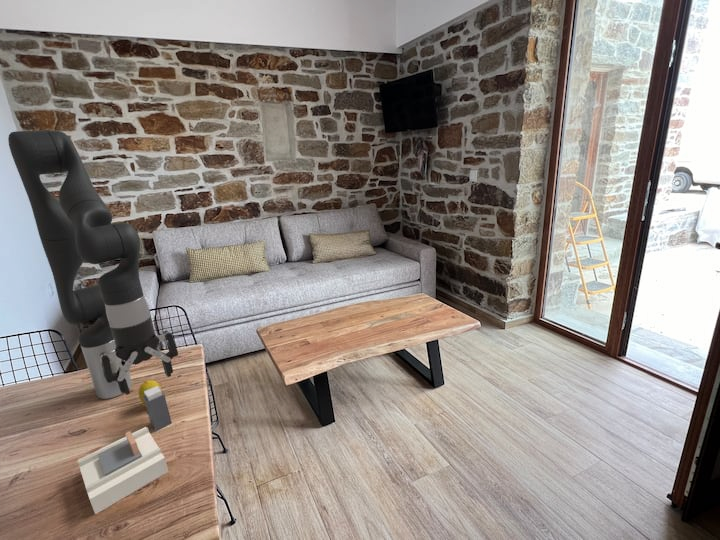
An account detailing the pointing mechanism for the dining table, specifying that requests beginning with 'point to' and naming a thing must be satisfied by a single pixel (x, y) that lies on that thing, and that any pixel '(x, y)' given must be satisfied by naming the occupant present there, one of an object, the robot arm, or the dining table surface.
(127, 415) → the dining table surface
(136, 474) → the socket
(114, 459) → the panel
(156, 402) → the plug
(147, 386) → the lemon
